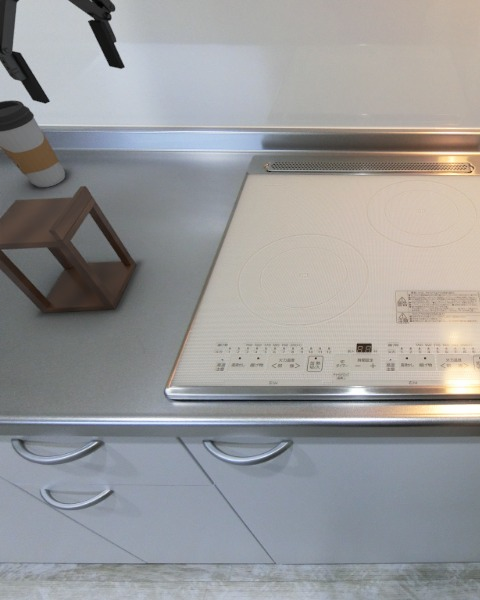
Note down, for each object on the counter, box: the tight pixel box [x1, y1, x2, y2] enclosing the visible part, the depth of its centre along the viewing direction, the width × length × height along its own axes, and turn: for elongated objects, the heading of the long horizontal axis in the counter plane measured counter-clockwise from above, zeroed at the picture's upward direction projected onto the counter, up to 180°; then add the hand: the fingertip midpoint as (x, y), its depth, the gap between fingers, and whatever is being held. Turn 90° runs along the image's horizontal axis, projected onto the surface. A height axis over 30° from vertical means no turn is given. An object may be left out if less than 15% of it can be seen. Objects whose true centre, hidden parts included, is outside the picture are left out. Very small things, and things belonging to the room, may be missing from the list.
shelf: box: [0, 185, 137, 314], centre depth 65 cm, size 11×10×16 cm
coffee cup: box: [0, 100, 66, 188], centre depth 86 cm, size 8×8×15 cm
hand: (81, 83), depth 67 cm, fingers open, 13 cm apart
